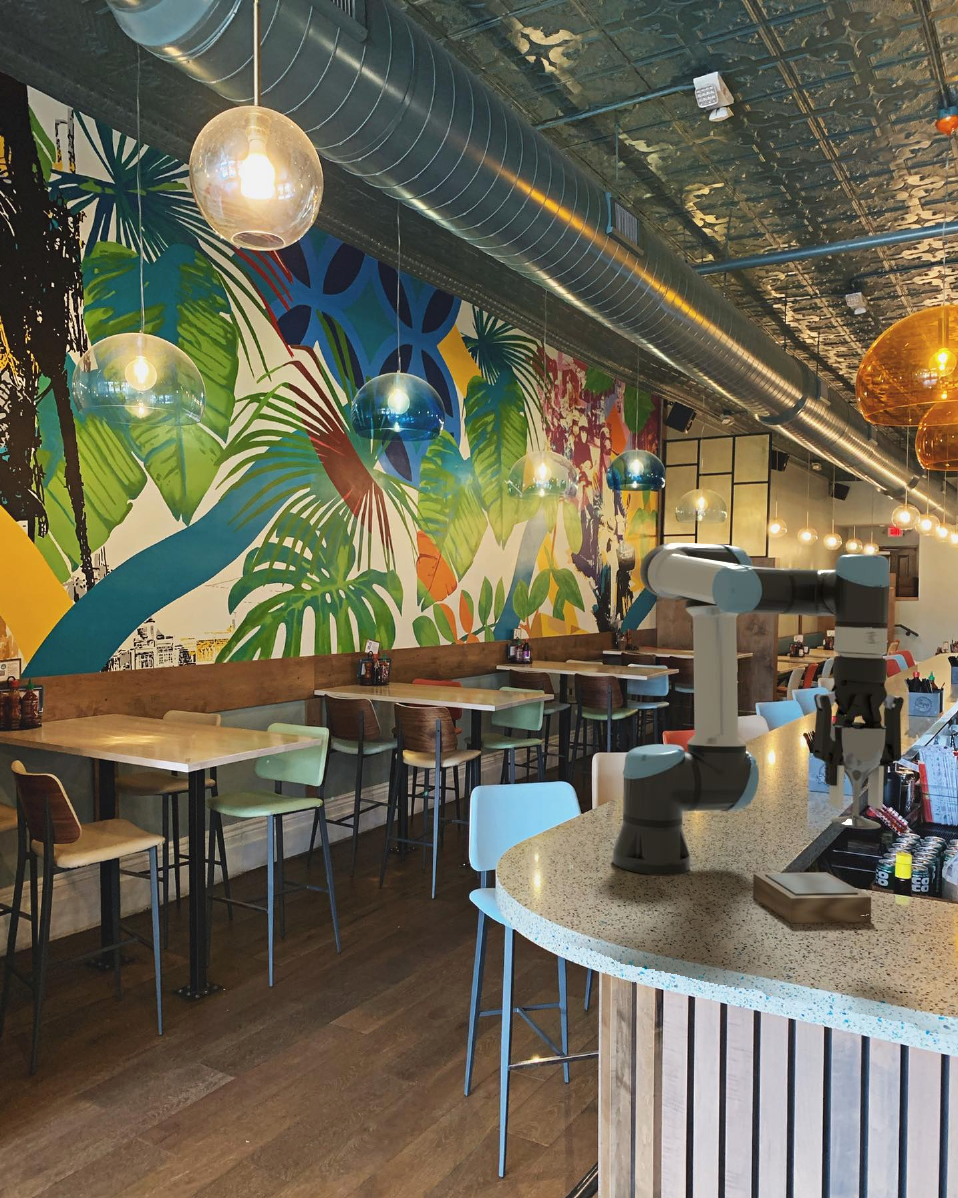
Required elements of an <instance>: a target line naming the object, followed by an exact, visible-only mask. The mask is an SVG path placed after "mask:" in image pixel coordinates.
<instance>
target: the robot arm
mask: <svg viewBox="0 0 958 1198" xmlns="http://www.w3.org/2000/svg"><path fill="white" fill-rule="evenodd" d="M640 563H641V564H640V568H639V576H640V580H641V582H642V585H643V586H644V587H645V589H646V590H647V591H649V593H651V594H653V595H654V596H657V597H659V598H660V597H661V598H664V599H668V600H669V599H671V600H679V601H680V600H682V601H683V600H685V611H686V612H687V613H688V614H689V615H690V616H691V617H692V620H693V621H692V626H693V637H692V639H693V702H694V703H693V707H694V708H693V710H694V711H693V713H694V715H693V716H694V718H693V719H694V720H693V721H694V734H693V736H692V737H691V738H690V739H689V740H688V741H687V742H686V751H685V749H684V747H683V746H681V745H679V744H672V743H665V744H661V743H660V744H659V743H655V744H646V745H642V746H637V747H634V748H631V750H629V751H628V752H627V753H626V755H625V757H624V766H623V771H622V775H623V793H622V794H623V795H622V797H623V799H622V801H623V802H622V823H621V824H622V825H621V826H620V830H619V833H618V835H617V838H616V842H615V845H614V847H613V850H612V863H613V864H614V865H615V866H616V867H618V868H620V869H624V870H626V871H630V872H632V873H633V872H634V873H639V874H645V875H656V876H660V875H661V876H664V875H665V876H667V875H678V874H682V873H686V872H688V871H690V869H691V854H690V849H689V848H688V844H687V839H686V836H685V833H684V829H683V813H684V812H706V811H707V812H709V811H710V812H711V811H720V812H730V811H735V810H736V811H737V810H742V809H745V808H746V807H748V806H749V805H750V804H751V803H752V801H753V800H754V798H755V797H756V794H757V791H758V787H759V781H760V772H759V766H758V764H757V759H756V758H755V756H754V755H753V754H752V753H751V752H748V751H747V743H746V742H745V741H744V740H743V738H741V737H740V735H739V712H738V711H739V709H738V707H739V706H738V704H739V703H738V662H737V661H738V658H737V657H738V652H737V649H738V647H737V643H738V642H737V617H738V616H739V615H741V614H742V615H745V614H762V615H763V614H767V615H768V614H769V615H770V614H772V615H791V616H793V615H795V616H808V617H823V616H824V617H834V634H833V635H834V638H833V639H834V641H833V651H834V652H835V653H837V655H835V656H834V657H833V671H832V672H833V675H832V676H833V677H832V678H833V682H834V684H833V685H832V688H831V690H830V692H827V693H826V692H825V693H822V694H820V693H816V694H815V695H814V696H813V700H814V703H815V707H816V714H815V715H816V716H815V727H814V736H813V737H814V739H813V749H812V751H813V752H812V755H813V757H814V758H815V759H818V760H820V761H823V762H824V764H825V765H824V766H825V768H824V769H825V771H824V782H825V784H826V785H829V789H828V791H829V792H828V793H829V794H828V795H829V796H828V805H829V806H831V807H833V808H836V809H838V810H844V787H845V785H844V784H845V773H844V766H843V765H840V764H839V762H840V759H841V754H840V747H839V739H838V740H836V741H833V740H832V738H831V737H830V734H831V722H833V720H832V718H833V707H834V705H835V704H836V705H837V708H836V712H835V715H834V716H835V717H834V718H835V721H834V722H835V724H834V725H837V726H843V727H851V724H852V723H853V722H855V720H856V718H858V717H859V718H860V717H861V719H862V721H863V723H865V725H866V729H882V726H885V727H886V745H885V751H884V755H883V758H882V761H881V763H880V765H879V766H878V767H877V768H876V769H875V770H874V771H873V772H872V773H871V774H870V775H869V776H868V787H867V789H868V790H867V791H868V792H867V805H868V806H870V807H872V808H874V809H877V810H883V807H884V805H883V803H884V787H887V785H888V783H889V779H888V778H889V767H892V766H893V764H894V763H895V762H900V761H902V736H901V735H902V729H901V728H902V726H901V725H902V724H901V723H902V722H901V720H902V719H901V717H902V716H901V715H902V714H901V712H902V709H903V705H904V703H905V699H904V697H902V696H896V695H892V694H889V693H888V691H887V689H886V687H885V684H886V681H887V675H888V674H887V671H888V669H887V668H888V661H887V660H886V658H885V657H884V658H883V655H886V654H887V653H888V623H889V605H890V587H891V579H890V566H889V565H890V563H889V560H888V558H887V557H885V555H884V556H883V555H877V554H844V555H841V556H839V557H838V558H837V560H836V564H835V568H834V569H810V568H807V569H806V568H786V567H785V568H782V567H781V568H776V567H765V566H764V567H763V566H754V564H753V561H752V559H751V558H750V555H749V554H747V552H746V551H745V550H744V549H742V548H741V547H739V546H734V545H726V544H722V543H721V544H716V543H715V544H713V543H712V544H709V543H687V542H686V543H685V542H684V543H683V542H668V543H663V544H661V545H657V546H656V547H654V548H653V549H650V551H648V552H647V553H646V555H645V556H644V557H643V558H642V561H641V562H640ZM834 703H835V704H834ZM882 705H883V706H884V709H883V719H882V715H881V710H880V707H881V706H882ZM882 720H883V725H882Z"/></svg>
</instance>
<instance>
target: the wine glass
mask: <svg viewBox="0 0 958 1198" xmlns="http://www.w3.org/2000/svg"><path fill="white" fill-rule="evenodd" d="M834 724H835V721H831V734H830V737H831V738H832V740H833V741H836V740H838V739H839V747H840V754H841V759H840V762H839V764H840V765H843V766H844V776H846V777H847V779H848V781H849V782H850V783H849V784H850V787H851V792H852V813H851V814H850V815H848V816H836V817H832V818H830V820H829V821H830V822H831V823H833V824H835V825H837V826H841V827H844V828H845V827H846V828H852V829H861V830H875V829H879V828H881V824H880V823H878V822H876V821H874V820H870V819H867V818H864V817H862V816H860V813H859V801H860V795H861V789H862V785H863V784H864V782H865V780H866V779H868V778H869V775H870V774H871V773H872V772H873V771H874V770H875V769H876V768H877V767H878V766H879V765H880V763H881V761H882V758H883V755H884V751H885V745H886V727H885V726H884V725H882V729H866V725H865V722H859V721H854V722H853V723H852V724H851V727H843V726H837V725H834Z"/></svg>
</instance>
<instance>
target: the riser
mask: <svg viewBox="0 0 958 1198" xmlns="http://www.w3.org/2000/svg"><path fill="white" fill-rule="evenodd" d="M752 874H753V878H752V881H753V882H752V897H753V898H755V899H757V900H758V901H759V902H761V903H762V904H763V905H765V906H766V907H768V908H770V909H771V910H772V911H773V912H775V913H776V914H777V915H779V916H781V917H782V918H783V919H785V920H786V921H787V922H789V923H790V924H805V923H806V924H809V923H810V924H811V923H812V924H814V923H859V922H860V923H862V922H864V923H865V922H867V923H868V922H869V923H871V921H872V896H870V895H868V894H867V893H864V892H863V891H861V890H859V889H857V888H855V887H854V886H852V885H851V884H848V883H847V882H845V881H843V880H841V879H839V878H838V877H836V876H834V875H832V874H830V873H828V872H825V871H824V872H822V871H821V872H757V873H756V872H753V873H752ZM866 914H869V915H867V916H861V915H866Z"/></svg>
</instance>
